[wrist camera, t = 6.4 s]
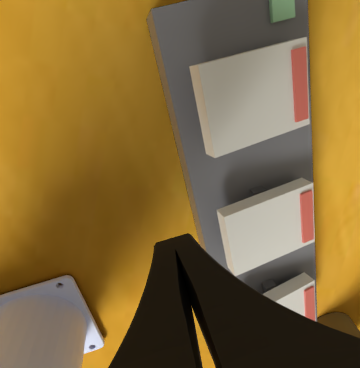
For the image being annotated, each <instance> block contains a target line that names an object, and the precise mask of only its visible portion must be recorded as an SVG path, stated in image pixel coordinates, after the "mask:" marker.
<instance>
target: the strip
mask: <svg viewBox="0 0 360 368" xmlns="http://www.w3.org/2000/svg"><path fill="white" fill-rule="evenodd" d="M146 20H147V24H148V28H149V32H150V37H151V41H152V45H153V49H154V53H155V58H156V62H157V66H158V70H159V74H160V79H161V83H162V87H163V91H164V96H165V100H166V104H167V108H168V112H169V117H170V121H171V125H172V129H173V133H174V138H175V142H176V146H177V150H178V154H179V159H180V163H181V167H182V171H183V175H184V180H185V184H186V188H187V192H188V196H189V201H190V205H191V209H192V213H193V217H194V222H195V226H196V230H197V234H198V238H199V243H200V246H201V247H202V248H203V249H204V250H205V251H206V252H207V253H208V254H209V255H210V256H211V257H212V258H213V259H215V260H216V261H217V262H218V263H219V264H220V265H221V266H223V267H224V268H225V269H226V270H228V271H229V272H230V273H232V272H231V271H230V269H229V268H228V266H227V261H226V256H225V251H224V246H223V241H222V236H221V231H220V225H219V220H218V215H217V209H220V208H223V207H225V206H228V205H231V204H233V203H236V202H239V201H241V200H244V199H246V198H249V197H252V196H254V195H257V194H260V193H262V192H265V191H268V190H270V189H273V188H276V187H278V186H281V185H283V184H286V183H289V182H291V181H294V180H297V179H299V178H303V179H306V180H308V181H310V182H312V183H313V163H312V129H311V95H310V60H309V26H308V0H188V1H184V2H179V3H175V4H171V5H166V6H162V7H158V8H153V9H151V10H150V12H149V15H148V17H147V19H146ZM303 37H307V58H308V89H309V120H310V124H308V125H306V126H303V127H300V128H297V129H295V130H292V131H289V132H286V133H283V134H281V135H278V136H275V137H272V138H270V139H267V140H264V141H261V142H259V143H256V144H253V145H250V146H247V147H245V148H242V149H239V150H236V151H234V152H231V153H228V154H225V155H223V156H220V157H217V158H214V157H211V156H209V155H207V154H206V150H205V145H204V140H203V135H202V130H201V125H200V120H199V115H198V109H197V104H196V99H195V94H194V89H193V84H192V79H191V73H190V68H189V66H193V65H197V64H200V63H204V62H208V61H212V60H216V59H220V58H224V57H227V56H231V55H235V54H239V53H243V52H247V51H250V50H254V49H258V48H262V47H266V46H270V45H274V44H277V43H281V42H285V41H289V40H293V39H298V38H303ZM304 272H305V273H306V274H307V275H308V276H310V277H311V278H312V279H314V280H315V309H316V322H317V299H316V265H315V242H313V243H311V244H308V245H306V246H304V247H301V248H299V249H297V250H295V251H292V252H290V253H288V254H285V255H283V256H281V257H279V258H276V259H274V260H272V261H269V262H267V263H265V264H263V265H260V266H258V267H256V268H254V269H251V270H249V271H247V272H244V273H242V274H240V275H238V276H236V277H237V278H238V279H240V280H241V281H242V282H244V283H245V284H247V285H248V286H250V287H251V288H253V289H255V290H256V291H258V292H259V293H261V294H264V293H266V292H267V291H269V290H271V289H273V288H275V287H277V286H279V285H281V284H283V283H285V282H286V281H288V280H290V279H292V278H294V277H296V276H298V275H300V274H302V273H304ZM232 274H233V273H232Z"/></svg>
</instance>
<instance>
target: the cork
mask: <svg viewBox="0 0 360 368" xmlns="http://www.w3.org/2000/svg"><path fill="white" fill-rule="evenodd" d="M317 322H318V323H321V324H323V325H325V326H328V327H330V328H333V329H336V330H339V331H342V332H344V333H347V334H350V335H353V336H355V337H358V338H360V331H359V330H358V328H357V327H356V325H355V324H354V323H353V321H352V320H351V318H350V317H349V316H348V315H346V314H344V313H340V312H333V313H328V314H325V315H323V316H321V317H319V318H317Z"/></svg>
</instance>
